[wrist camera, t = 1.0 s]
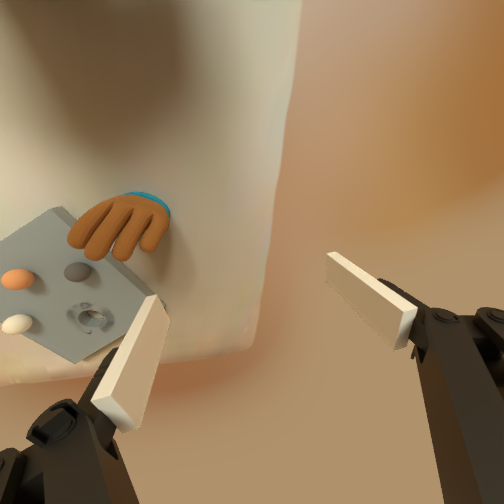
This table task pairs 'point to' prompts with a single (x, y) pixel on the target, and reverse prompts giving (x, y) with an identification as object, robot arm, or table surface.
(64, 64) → the table surface
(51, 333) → the grey flat plate
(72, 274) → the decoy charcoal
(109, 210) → the toy
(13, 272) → the ball
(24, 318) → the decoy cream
